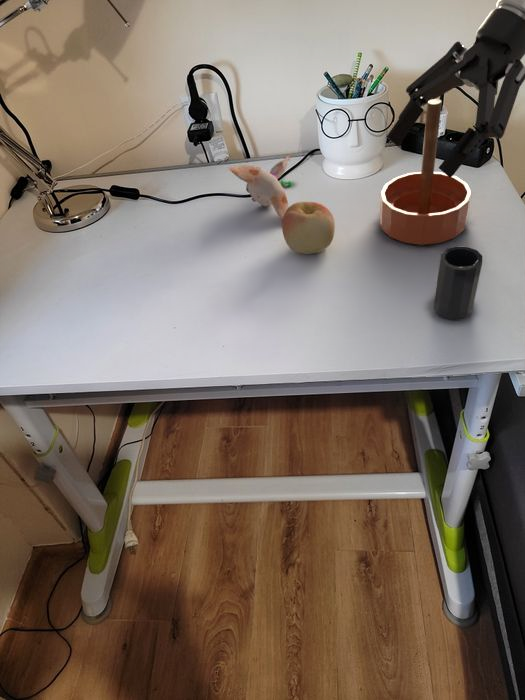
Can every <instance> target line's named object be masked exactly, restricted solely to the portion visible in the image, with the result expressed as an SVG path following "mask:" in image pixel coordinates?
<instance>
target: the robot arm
mask: <svg viewBox="0 0 525 700" xmlns="http://www.w3.org/2000/svg"><path fill="white" fill-rule="evenodd" d="M479 26H480V27H478V29H477V31H476V34H475V35H476V36H475V41H474V42H473V44H472V45H471V46H470V47H468V48H466V47H465V46H464V45H463V44H462V43H461V42H460V41H459V40H457V41H456V42H454V44H453V45H452V46H451V47H450V48H449V50H448V51H447V52H446V53H445V55H443V56H442V57H441V58H440V59H438V61H436V62H435V63H434V64H433V65H432V66H431V67H429V68H428V69H427V70H426V71H424V72H423V73H422V74H421V75H420V76H419V77H417V78H416V79H415V80H414V81H413V82H412V83H411V84H410V85H408V86H407V87H406V89H405V93H406V94H408V96H409V101H408V103H406V105H405V106H404V107H403V110H402V111H401V112H400V114H399V115H398V119H397V121H396V123H395V124H394V125H393V127H391V130H390V131H389V132H388V133H387V135H386V138H387V139H388V140H389V141H390V142H392V143H393V144H394V145H395V146H396V147H399V146H400V145H401V143H402V142H403V140H404V139H405V138H406V137H407V135H408V133H409V132H410V130H412V128H413V127H414V126H415V124H416V123H417V121H418V119H419V118H420V117H421V116H422V114H423V112H424V110H425V106H426V105H427V103H428V101H429V100H432V99H439V97H441V96H443V95H444V94H446V93H448V92H449V91H451V90H453V89H455V88H457V87H463V86H467V87H469V88H475V90H477V91H478V98H477V109H476V118H475V124H472V128H471V127H468V128H467V129H466V131H465V132H464V133H463V135H462V136H461V138H460V139H459V140H458V141H457V143H456V144H455V146H454V147H453V148H452V149H451V150H450V152H449V153H448V155H447V156H446V157H445V158H444V159H443V161H442V162H441V164H439V166H438V169H439V170H440V172H442V173H445V174H446V175H447V176H448V177H450V178H451V177H452V176H455V174H456V173H457V171H458V170H459V168H461V166H462V164H463V163H464V162H465V160H466V159H467V158H468V159H470V158H471V157H472V156H474V155H475V153H476V151H478V149H479V148H480V147H481V145H482V144H483V143H484V142H485V141H486V140H487V139H489V138H490V139H491V138H494V139H495V140H501V139H502V138H503V137H504V135H505V132H506V130H507V126H508V124H509V120H510V117H511V114H512V111H513V109H514V105H515V103H516V99H517V97H518V94H519V91H520V88H521V86H522V85H523V83H524V82H525V65H524V63H523V62H522V61H521V60H522V59H523V58H524V57H525V0H498V1H497V2H496V7H495V8H494V9H492V10H491V11H490V12H489V14H488V15H487V17H486V18H485V19H484V21H483V22H482V24H480V25H479ZM502 79H503V81H502V84H501V86H500V89H499V81H500V80H502ZM498 89H499V92H498ZM497 94H498V95H497ZM496 96H497V99H496Z"/></svg>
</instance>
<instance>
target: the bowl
mask: <svg viewBox="0 0 525 700" xmlns="http://www.w3.org/2000/svg"><path fill="white" fill-rule="evenodd" d="M420 178H421V171H415V172H407V173H405V174H402V175H399V176H396V177H394V178H393V179H391V180H389V181H388V182H386V183H385V184H384V185H383V187H382V189H381V191H380V194H379V224H380V228H381V230H382V231H383V232H384V233H385V234H386V235H388V236H389V237H390V238H392V239H394V240H396V241H400V242H402V243H405V244H411V245H412V244H413V245H420V246H421V245H422V246H423V245H434V244H441V243H443V242H447V241H450V240H452V239H455V238H456V237H457V236H458V235H460V234H461V233H462V232H463V231H464V230H465V229H466V225H467V223H468V217H469V211H470V205H471V199H472V194H473V192H472V189H471V188H470V185H469V184H468V183H467V182H466V181H464V180H463V179H461V178H459V177H458V176H456V175H453V176H452V177H451V178H450V177H448V176H447V175H446V174H445V173H444V172H442V171H434V176H433V185H432V194H431V203H430V211H429V214H419V213H417V210H418V200H419V189H420Z"/></svg>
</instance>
